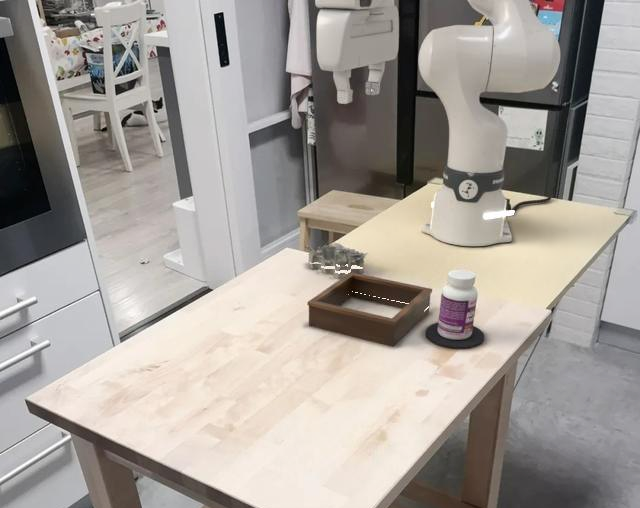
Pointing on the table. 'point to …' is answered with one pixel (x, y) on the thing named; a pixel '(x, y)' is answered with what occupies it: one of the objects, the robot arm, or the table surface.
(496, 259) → the table surface
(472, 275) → the pill bottle
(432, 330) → the coaster
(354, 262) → the egg carton
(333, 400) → the table surface
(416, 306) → the wooden square frame
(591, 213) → the table surface
